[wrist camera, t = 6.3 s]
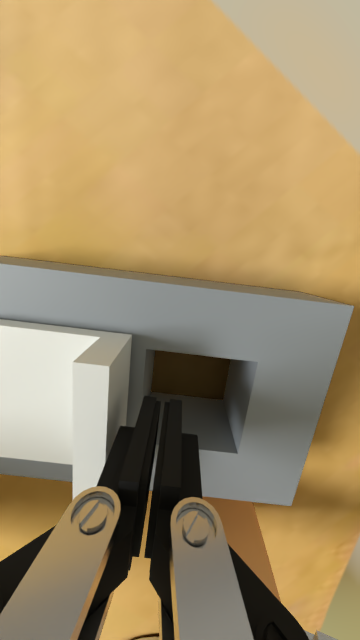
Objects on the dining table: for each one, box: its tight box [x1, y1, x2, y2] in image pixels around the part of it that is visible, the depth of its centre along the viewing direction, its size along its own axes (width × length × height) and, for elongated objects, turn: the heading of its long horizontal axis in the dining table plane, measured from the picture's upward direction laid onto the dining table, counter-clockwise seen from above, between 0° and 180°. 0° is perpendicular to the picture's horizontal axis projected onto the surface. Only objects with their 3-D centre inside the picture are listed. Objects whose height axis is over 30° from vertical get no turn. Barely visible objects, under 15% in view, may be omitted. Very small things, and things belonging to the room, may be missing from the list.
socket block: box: [0, 256, 354, 506], centre depth 14 cm, size 12×20×5 cm, turn 83°
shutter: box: [0, 319, 132, 499], centre depth 10 cm, size 7×7×3 cm
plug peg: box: [202, 496, 281, 602], centre depth 14 cm, size 4×4×12 cm
